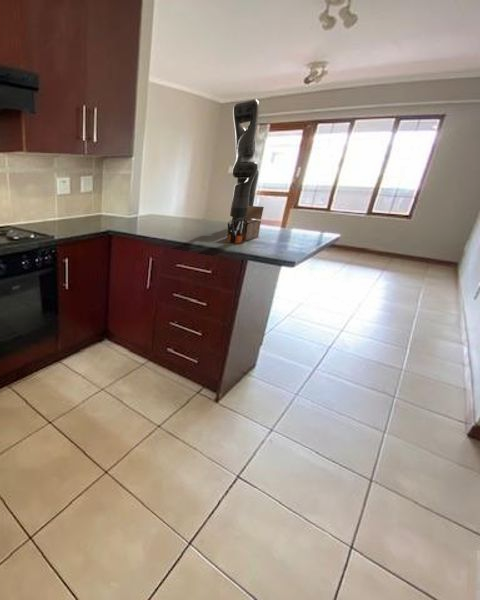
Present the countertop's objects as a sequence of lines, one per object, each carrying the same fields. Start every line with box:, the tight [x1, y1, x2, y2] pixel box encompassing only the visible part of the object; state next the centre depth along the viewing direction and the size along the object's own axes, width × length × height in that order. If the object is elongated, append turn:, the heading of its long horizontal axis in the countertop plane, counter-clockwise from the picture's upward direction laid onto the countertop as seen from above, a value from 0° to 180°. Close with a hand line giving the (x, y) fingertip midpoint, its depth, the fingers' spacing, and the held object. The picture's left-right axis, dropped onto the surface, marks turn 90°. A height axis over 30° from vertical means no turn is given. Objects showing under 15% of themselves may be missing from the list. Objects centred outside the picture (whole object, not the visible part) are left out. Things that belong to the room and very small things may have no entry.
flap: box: [244, 205, 264, 220], centre depth 176 cm, size 6×10×1 cm
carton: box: [226, 219, 262, 241], centre depth 175 cm, size 13×10×9 cm
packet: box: [227, 235, 243, 244], centre depth 167 cm, size 4×5×3 cm
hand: (234, 241), depth 167 cm, fingers closed on packet, 4 cm apart
